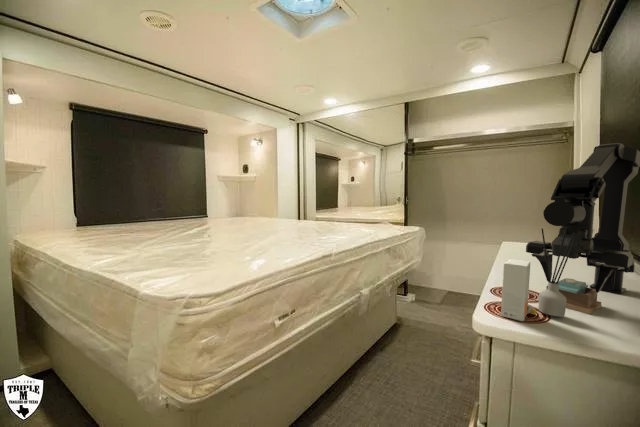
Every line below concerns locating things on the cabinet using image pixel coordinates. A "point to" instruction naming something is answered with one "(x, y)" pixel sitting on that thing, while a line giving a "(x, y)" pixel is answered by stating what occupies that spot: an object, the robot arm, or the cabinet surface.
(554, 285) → the reed diffuser
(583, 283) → the block
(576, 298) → the pocket holder
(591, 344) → the cabinet surface
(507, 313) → the skincare box
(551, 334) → the cabinet surface
